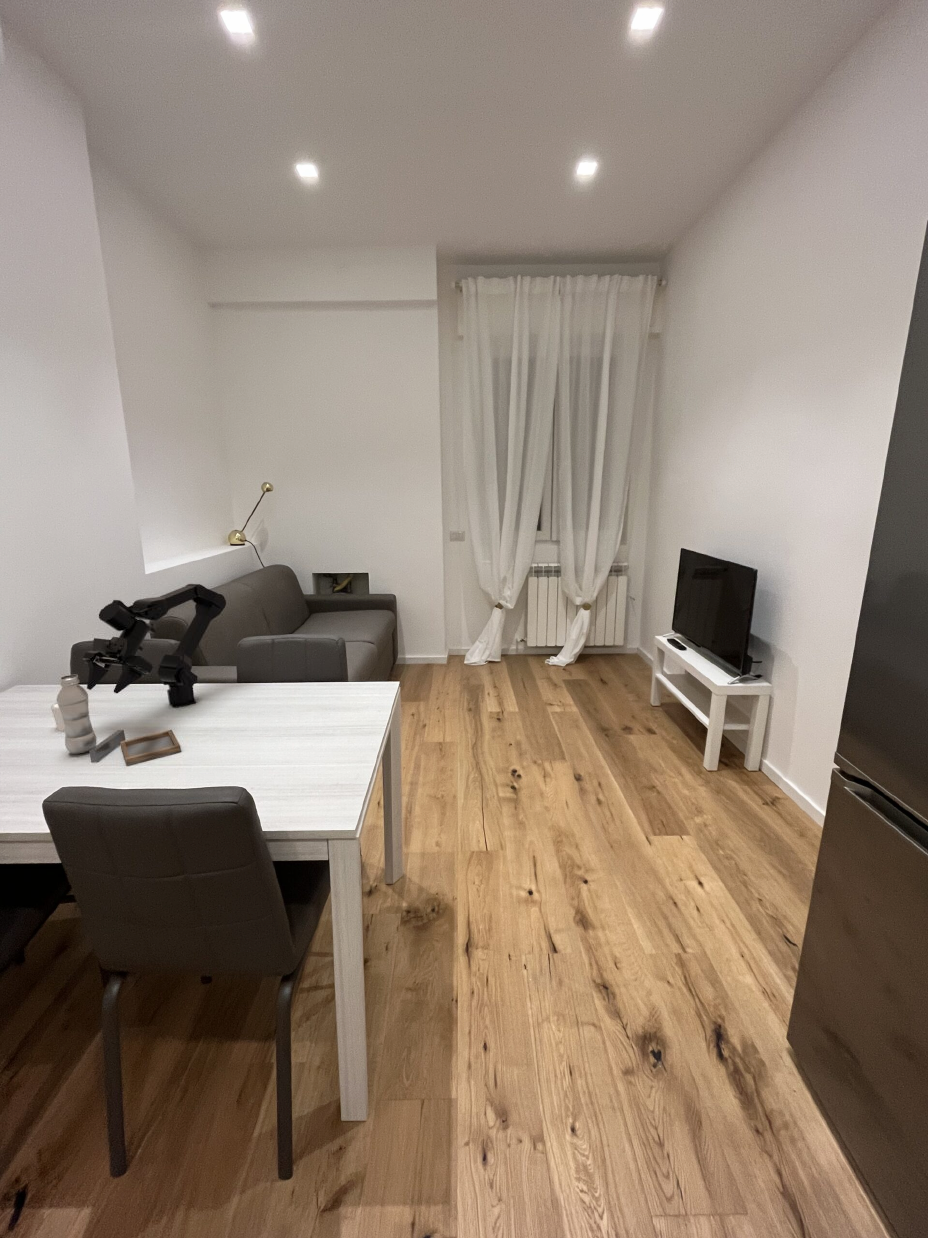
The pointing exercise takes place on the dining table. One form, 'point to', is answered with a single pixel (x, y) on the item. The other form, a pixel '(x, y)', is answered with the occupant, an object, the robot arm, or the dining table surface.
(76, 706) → the plastic bottle
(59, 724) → the white tapered cup
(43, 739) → the dining table surface
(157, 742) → the wooden tray
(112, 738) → the bar
